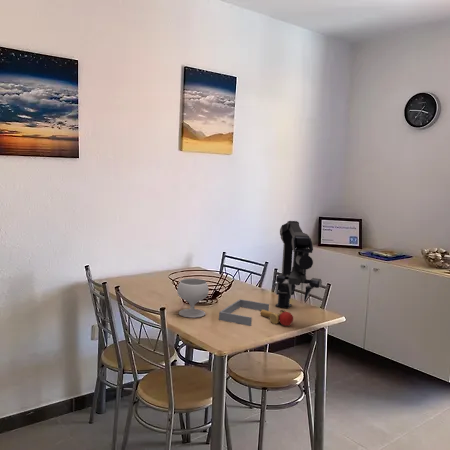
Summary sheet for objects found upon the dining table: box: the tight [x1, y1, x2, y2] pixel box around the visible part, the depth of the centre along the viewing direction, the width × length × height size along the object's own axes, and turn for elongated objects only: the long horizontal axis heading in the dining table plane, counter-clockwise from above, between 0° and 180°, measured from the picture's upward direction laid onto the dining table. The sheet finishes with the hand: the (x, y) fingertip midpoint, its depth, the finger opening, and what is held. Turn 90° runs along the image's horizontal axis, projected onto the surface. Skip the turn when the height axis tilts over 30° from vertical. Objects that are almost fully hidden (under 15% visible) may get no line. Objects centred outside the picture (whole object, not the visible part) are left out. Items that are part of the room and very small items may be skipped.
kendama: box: [260, 309, 294, 327], centre depth 203 cm, size 8×6×18 cm
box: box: [218, 298, 270, 327], centre depth 209 cm, size 24×15×4 cm, turn 156°
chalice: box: [176, 277, 210, 319], centre depth 207 cm, size 14×14×15 cm
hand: (297, 300), depth 198 cm, fingers open, 6 cm apart
